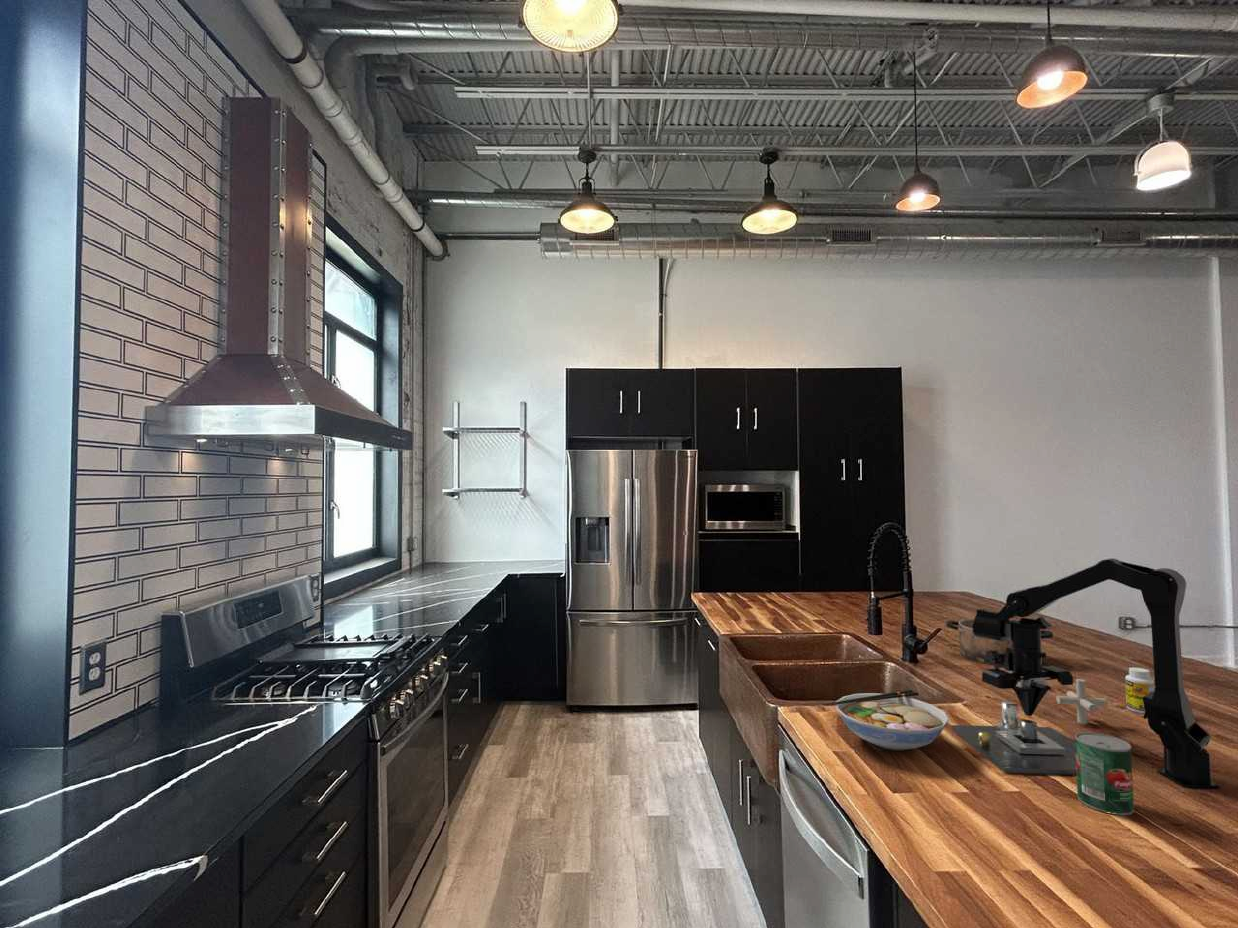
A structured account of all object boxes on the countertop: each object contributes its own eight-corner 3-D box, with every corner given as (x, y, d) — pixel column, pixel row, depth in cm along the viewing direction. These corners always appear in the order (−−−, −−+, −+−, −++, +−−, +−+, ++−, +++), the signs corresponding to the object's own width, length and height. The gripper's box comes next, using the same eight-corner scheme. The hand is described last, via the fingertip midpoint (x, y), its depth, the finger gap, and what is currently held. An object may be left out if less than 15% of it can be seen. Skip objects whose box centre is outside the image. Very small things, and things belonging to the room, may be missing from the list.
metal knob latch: (1065, 754, 125) (1064, 723, 125) (1019, 753, 125) (1018, 722, 126) (1024, 728, 139) (1023, 700, 139) (983, 727, 139) (982, 699, 140)
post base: (1123, 776, 118) (1121, 744, 118) (1005, 773, 119) (1004, 742, 119) (1050, 731, 140) (1049, 705, 140) (951, 729, 141) (950, 703, 141)
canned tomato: (1078, 788, 113) (1076, 728, 113) (1133, 802, 108) (1131, 739, 108) (1076, 805, 107) (1073, 742, 107) (1134, 821, 102) (1131, 754, 102)
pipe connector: (1118, 732, 139) (1117, 688, 139) (1069, 729, 141) (1068, 685, 141) (1094, 716, 149) (1092, 675, 149) (1048, 713, 151) (1047, 672, 151)
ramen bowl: (877, 775, 119) (876, 732, 119) (811, 730, 141) (810, 694, 141) (980, 759, 126) (979, 719, 126) (901, 719, 148) (900, 685, 148)
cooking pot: (943, 660, 200) (942, 627, 200) (950, 645, 218) (949, 615, 219) (1056, 674, 183) (1054, 638, 184) (1052, 657, 202) (1051, 625, 202)
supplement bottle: (1120, 708, 154) (1119, 667, 155) (1136, 705, 156) (1134, 665, 156) (1145, 716, 149) (1143, 673, 149) (1161, 713, 151) (1159, 671, 151)
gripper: (1032, 635, 147) (1035, 701, 147) (963, 638, 145) (965, 705, 144) (1073, 647, 136) (1076, 718, 136) (1000, 651, 134) (1002, 723, 133)
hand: (1028, 715), depth 137 cm, fingers closed
